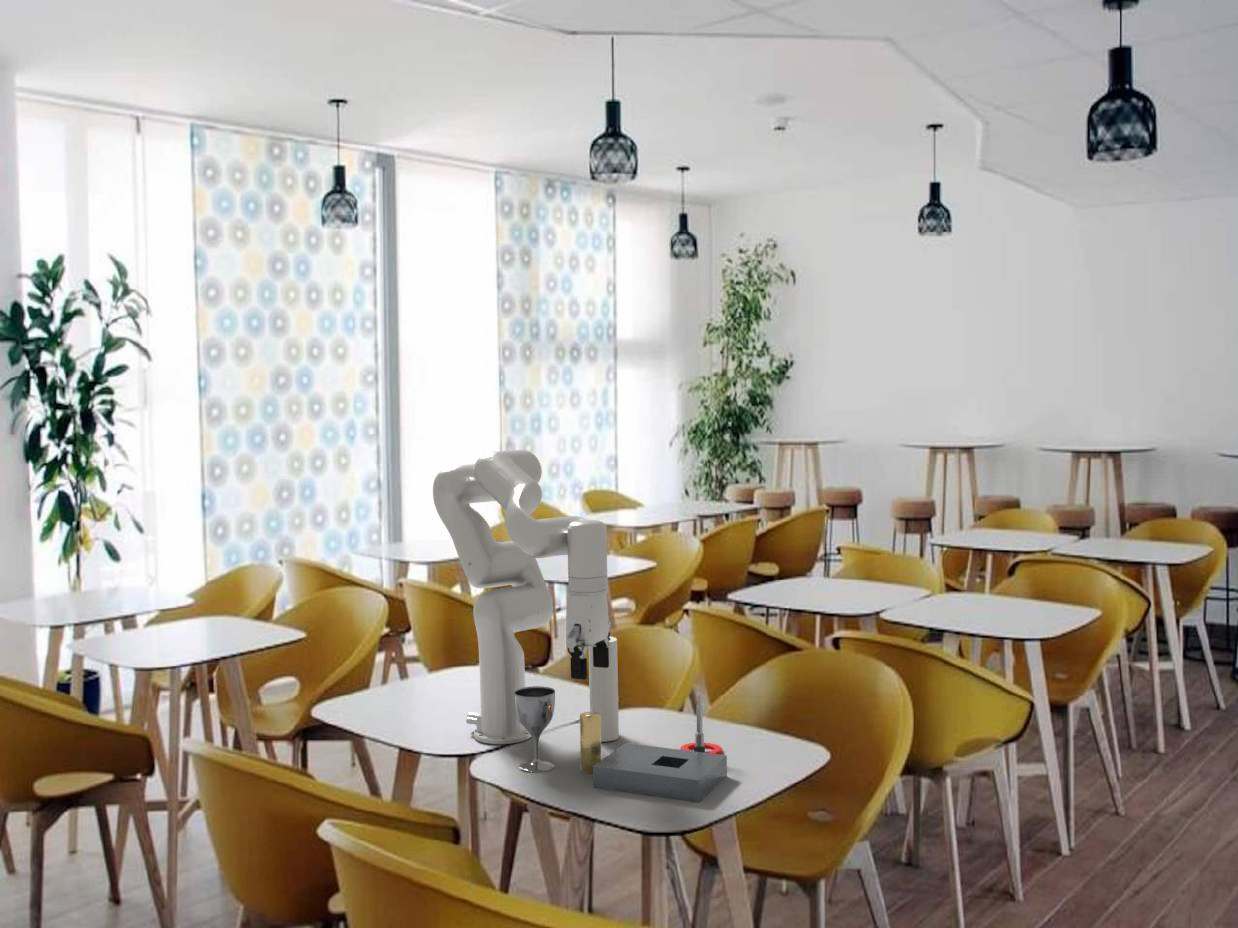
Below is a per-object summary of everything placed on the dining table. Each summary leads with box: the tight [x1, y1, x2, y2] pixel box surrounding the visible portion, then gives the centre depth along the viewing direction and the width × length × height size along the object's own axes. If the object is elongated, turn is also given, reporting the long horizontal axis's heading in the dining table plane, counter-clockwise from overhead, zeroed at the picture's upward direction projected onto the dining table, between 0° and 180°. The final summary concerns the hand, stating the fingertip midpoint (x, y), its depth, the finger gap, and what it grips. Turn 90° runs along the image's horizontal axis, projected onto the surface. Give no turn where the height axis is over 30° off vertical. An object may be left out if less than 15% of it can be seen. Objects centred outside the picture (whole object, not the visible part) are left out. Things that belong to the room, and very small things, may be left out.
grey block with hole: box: [592, 742, 728, 803], centre depth 222 cm, size 21×15×4 cm
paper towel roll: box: [588, 635, 620, 743], centre depth 249 cm, size 7×6×21 cm
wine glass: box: [515, 685, 556, 774], centre depth 231 cm, size 8×8×15 cm
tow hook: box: [680, 693, 723, 755], centre depth 239 cm, size 8×13×9 cm
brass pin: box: [579, 711, 602, 775], centre depth 229 cm, size 4×4×11 cm
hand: (590, 672), depth 228 cm, fingers open, 9 cm apart
